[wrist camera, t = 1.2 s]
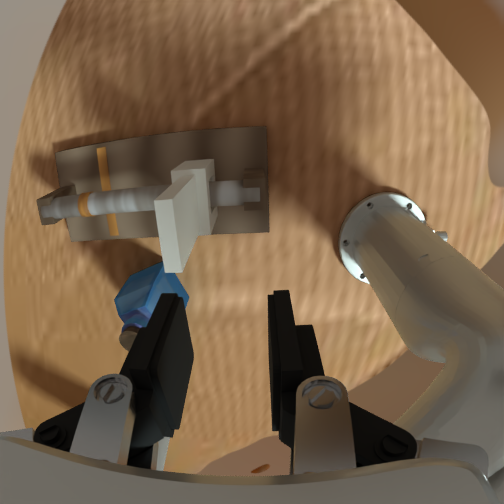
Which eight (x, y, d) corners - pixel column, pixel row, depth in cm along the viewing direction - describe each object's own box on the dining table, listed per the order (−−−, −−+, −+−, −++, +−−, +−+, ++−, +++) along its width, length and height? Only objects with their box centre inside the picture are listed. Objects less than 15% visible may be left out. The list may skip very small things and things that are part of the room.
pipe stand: (265, 126, 34) (269, 128, 26) (268, 226, 38) (272, 255, 31) (63, 150, 34) (25, 162, 27) (78, 236, 39) (47, 262, 31)
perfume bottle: (166, 259, 40) (138, 312, 30) (189, 296, 43) (171, 356, 32) (130, 275, 42) (96, 328, 31) (153, 310, 44) (128, 367, 33)
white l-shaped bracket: (213, 158, 31) (185, 190, 18) (217, 214, 34) (196, 278, 21) (185, 161, 31) (139, 193, 19) (190, 215, 34) (153, 279, 21)
